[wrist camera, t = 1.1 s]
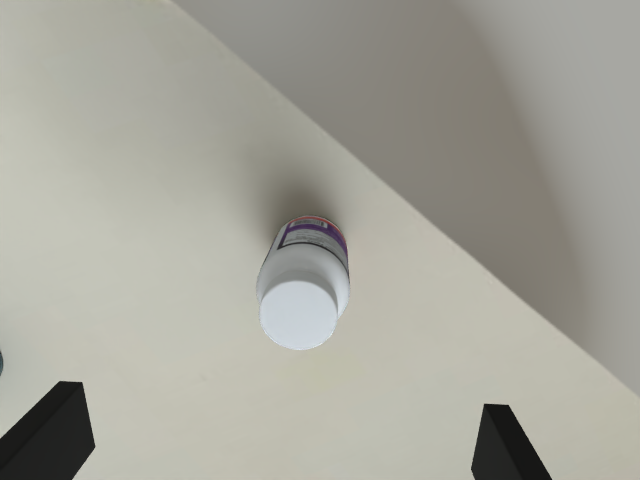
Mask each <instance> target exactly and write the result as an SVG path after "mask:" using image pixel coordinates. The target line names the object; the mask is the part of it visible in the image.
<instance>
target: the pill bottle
mask: <svg viewBox="0 0 640 480" xmlns="http://www.w3.org/2000/svg"><path fill="white" fill-rule="evenodd" d="M256 292H257V298H258V301H259V304H260V307H259V320H260V323H261V326H262V328H263V330H264V332H265V333H266V335H267V336H268V337H269V338H270V339H271V340H273V341H274V342H275V343H277V344H279V345H281V346H283V347H285V348H289V349H295V350H305V349H310V348H313V347H316V346H318V345H320V344H322V343H323V342H325V341H326V340H327V339H328V338H329V337H330V336H331V335H332V333H333V331H334V330H335V327H336V324H337V320H338V318H339V317H340V316H341V315H342V313H343V312H344V310H345V308H346V306H347V304H348V300H349V295H350V281H349V270H348V254H347V245H346V241H345V238H344V236H343V234H342V233H341V231H340V230H339V229H338V227H337V226H336V225H334V224H333V223H332V222H330V221H329V220H327V219H324V218H322V217H318V216H312V215H308V216H301V217H297V218H295V219H293V220H291V221H289V222H288V223H287V224H285V225H284V226H283V227H282V228H281V230H280V231H279V233H278V234H277V236H276V238H275V240H274V242H273V244H272V246H271V248H270V250H269V253H268V255H267V257H266V259H265V261H264V263H263V265H262V267H261V269H260V272H259V275H258V278H257V284H256Z"/></svg>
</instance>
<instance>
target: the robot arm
mask: <svg viewBox="0 0 640 480" xmlns="http://www.w3.org/2000/svg"><path fill="white" fill-rule="evenodd" d="M94 448H95V443H94V438H93V433H92V428H91V423H90V418H89V413H88V408H87V403H86V398H85V393H84V388H83V383H82V382H67V381H59V382H58V383H57V384H56V385H55V386H54V387H53V388H52V389H51V390H50V391H49V392H48V393H47V394H46V395H45V396H44V397H43V398H42V399H41V400H40V401H39V402H38V403H37V404H36V405H35V406H34V407H32V408H31V409H30V410H29V411H28V412H27V413H26V414H25V415H24V416H23V417H22V418H21V419H20V420H19V421H18V422H17V423H16V424H15V425H14V426H13V427H12V428H11V429H10V430H9V431H8V432H7V433H6V434H5V435H4V436H3V437H2V438H1V439H0V480H72V479H73V478H74V476H75V475H76V473H77V472H78V471H79V469H80V468H81V466H82V465H83V464H84V462H85V461H86V460H87V458H88V457H89V455H90V454H91V453H92V451H93V450H94ZM471 470H472V473H473V476H474V478H475V480H552V478H551V477H550V475H549V473H548V472H547V470H546V468H545V466H544V465H543V463H542V461H541V460H540V458H539V456H538V455H537V453H536V451H535V449H534V448H533V446H532V444H531V443H530V441H529V439H528V437H527V436H526V434H525V432H524V431H523V429H522V427H521V425H520V424H519V422H518V420H517V419H516V417H515V415H514V413H513V412H512V410H511V408H510V407H509V405H499V404H484V407H483V412H482V417H481V422H480V427H479V432H478V437H477V442H476V447H475V452H474V457H473V462H472V467H471Z"/></svg>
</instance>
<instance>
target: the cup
mask: <svg viewBox="0 0 640 480" xmlns="http://www.w3.org/2000/svg"><path fill="white" fill-rule="evenodd" d="M2 368H3V361H2V356H1V353H0V375H1V373H2Z"/></svg>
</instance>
